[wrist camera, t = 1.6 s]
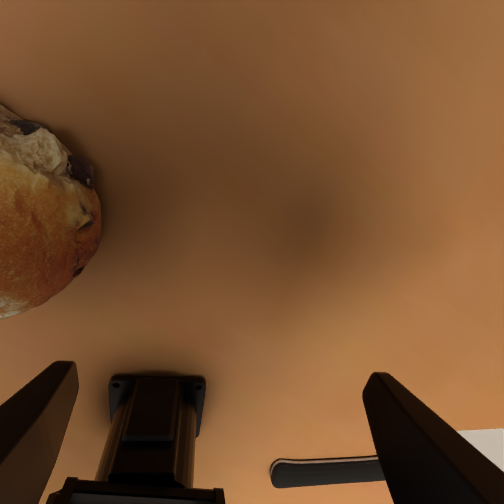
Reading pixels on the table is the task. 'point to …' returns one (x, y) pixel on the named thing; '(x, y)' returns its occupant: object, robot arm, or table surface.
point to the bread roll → (42, 214)
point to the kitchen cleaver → (368, 464)
